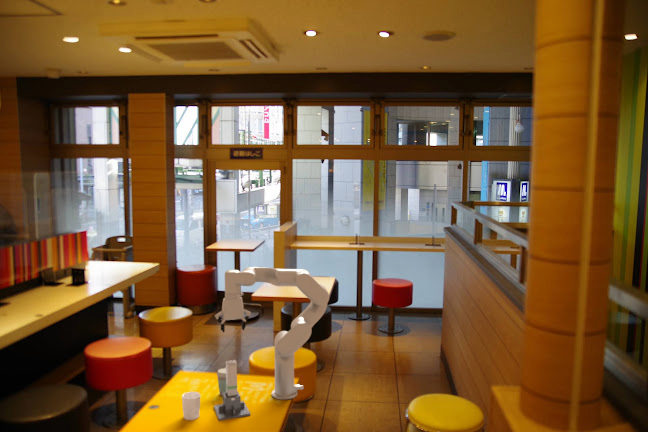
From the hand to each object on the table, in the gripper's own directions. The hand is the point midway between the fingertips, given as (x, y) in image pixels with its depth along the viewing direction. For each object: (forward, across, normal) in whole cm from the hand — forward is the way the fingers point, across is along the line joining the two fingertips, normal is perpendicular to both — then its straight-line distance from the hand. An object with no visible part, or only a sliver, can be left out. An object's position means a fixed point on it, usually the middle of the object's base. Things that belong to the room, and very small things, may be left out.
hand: (233, 330), depth 250 cm
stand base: (+33, +4, +15) cm, 37 cm away
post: (+26, +4, +15) cm, 30 cm away
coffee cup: (+34, +3, -5) cm, 34 cm away
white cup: (+34, +22, +14) cm, 42 cm away
